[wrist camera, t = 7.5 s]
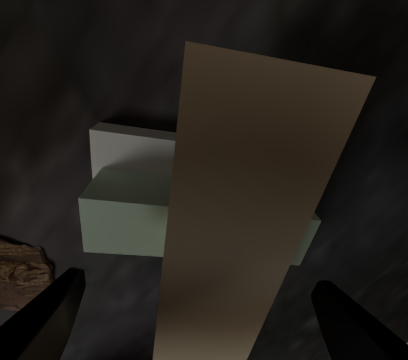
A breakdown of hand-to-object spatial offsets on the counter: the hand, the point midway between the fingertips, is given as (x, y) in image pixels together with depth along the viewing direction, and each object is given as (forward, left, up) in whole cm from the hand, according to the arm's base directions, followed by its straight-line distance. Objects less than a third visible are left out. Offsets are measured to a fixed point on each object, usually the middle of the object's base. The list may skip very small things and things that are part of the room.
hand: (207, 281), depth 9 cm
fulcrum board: (0, 0, -7) cm, 7 cm away
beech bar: (0, 0, -2) cm, 2 cm away
